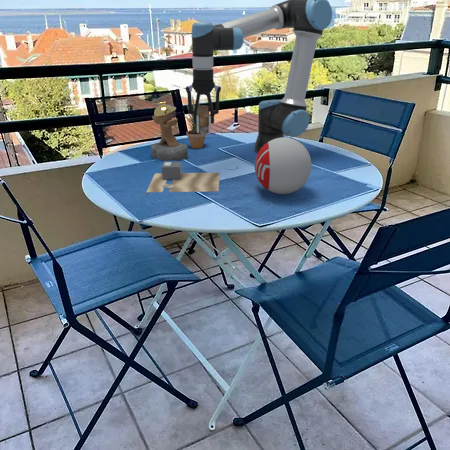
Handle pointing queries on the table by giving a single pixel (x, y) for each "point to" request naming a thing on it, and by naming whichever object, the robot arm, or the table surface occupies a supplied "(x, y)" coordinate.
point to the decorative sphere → (283, 165)
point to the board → (186, 183)
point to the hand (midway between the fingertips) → (204, 131)
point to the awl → (204, 119)
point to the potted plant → (195, 132)
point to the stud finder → (171, 170)
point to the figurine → (167, 136)
